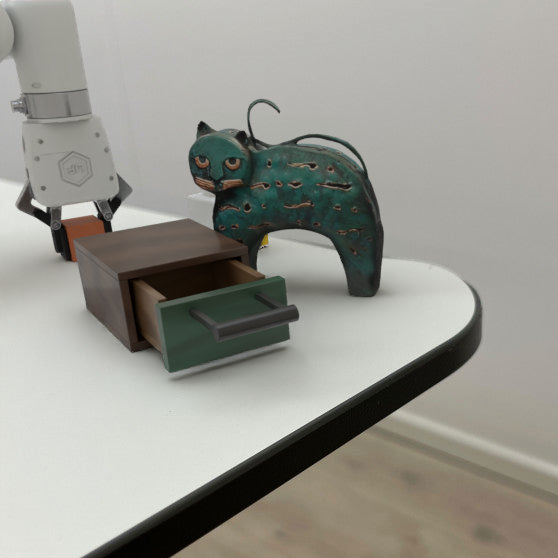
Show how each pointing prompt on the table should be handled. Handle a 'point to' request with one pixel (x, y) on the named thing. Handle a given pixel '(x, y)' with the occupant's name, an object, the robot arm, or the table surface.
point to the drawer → (210, 312)
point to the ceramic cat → (291, 195)
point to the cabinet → (143, 266)
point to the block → (81, 229)
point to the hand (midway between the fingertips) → (86, 251)
